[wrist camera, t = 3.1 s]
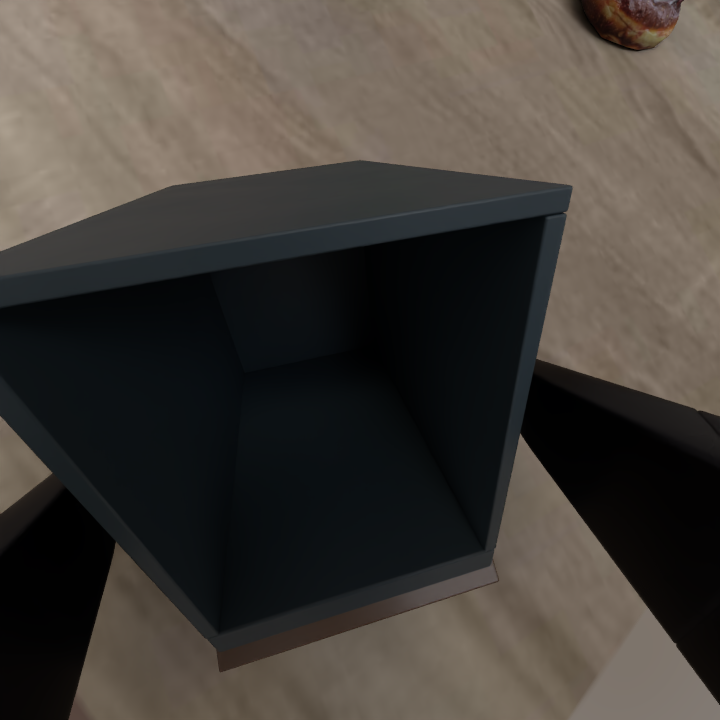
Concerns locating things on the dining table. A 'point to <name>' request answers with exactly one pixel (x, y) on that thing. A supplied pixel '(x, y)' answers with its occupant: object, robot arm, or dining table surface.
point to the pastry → (633, 20)
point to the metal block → (355, 618)
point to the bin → (287, 379)
